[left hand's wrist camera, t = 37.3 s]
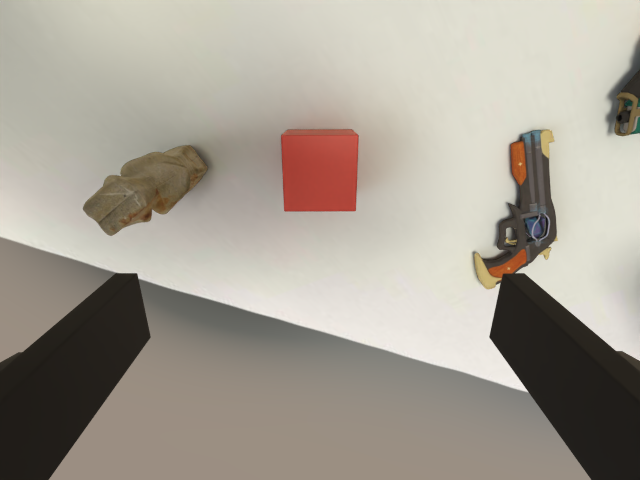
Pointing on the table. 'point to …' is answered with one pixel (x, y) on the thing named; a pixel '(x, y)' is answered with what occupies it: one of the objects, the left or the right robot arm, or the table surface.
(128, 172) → the sculpture
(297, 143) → the block
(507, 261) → the toy gun
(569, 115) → the table surface
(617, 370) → the left robot arm
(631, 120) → the spray gun
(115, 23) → the table surface
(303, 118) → the table surface
